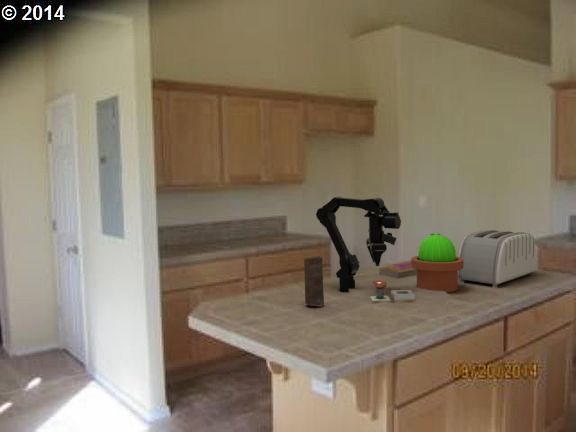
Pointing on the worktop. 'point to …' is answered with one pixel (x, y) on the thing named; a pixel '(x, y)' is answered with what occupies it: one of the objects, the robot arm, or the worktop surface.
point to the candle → (314, 281)
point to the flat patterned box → (398, 270)
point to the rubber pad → (379, 299)
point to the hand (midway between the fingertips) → (376, 264)
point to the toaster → (497, 256)
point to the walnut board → (390, 300)
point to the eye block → (402, 295)
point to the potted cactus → (437, 264)
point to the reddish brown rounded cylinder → (379, 288)
